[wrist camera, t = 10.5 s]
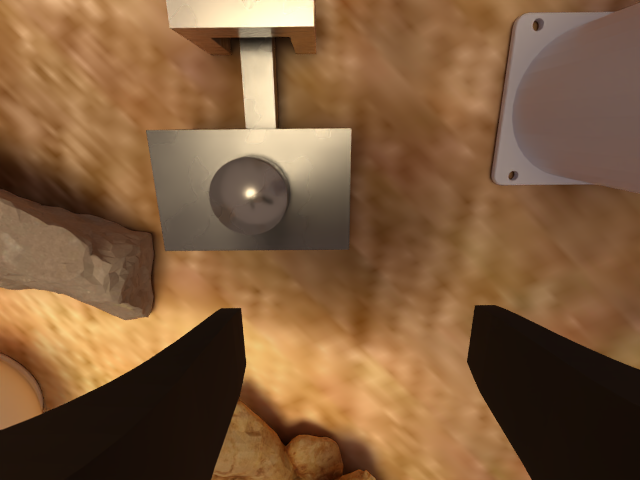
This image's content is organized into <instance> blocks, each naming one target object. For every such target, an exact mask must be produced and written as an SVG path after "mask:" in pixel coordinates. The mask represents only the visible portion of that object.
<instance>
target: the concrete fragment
mask: <svg viewBox="0 0 640 480" xmlns="http://www.w3.org/2000/svg"><path fill="white" fill-rule="evenodd" d="M153 258H154V251H153V243H152V234H150V233H147V232H142V231H132V230H129V229H127V228H125V227H123V226H121V225H119V224H117V223H115V222H112V221H108V220H105V219H103V218H100V217H97V216H93V215H89V214H75V213H73V212H70V211H68V210H66V209H64V208H62V207H51V206H44V205H43V206H42V205H40V204H39V203H37V202H33V201H30V200H28V199H25V198H22V197H18V196H17V195H15V194H13V193H10V192H8V191H6V190H4V189H0V287H2V288H5V289H11V290H22V289H38V290H46V291H51V292H56V293H58V294H65V295H68V296H70V297H72V298H74V299H77V300H79V301H81V302H84V303H86V304H89V305H92V306H94V307H96V308H99V309H101V310H103V311H105V312H107V313H109V314H111V315H114V316H117V317H119V318H121V319H124V320H131V319H137V318H141V317H148V316H149V314H150V313H151V310H152V303H153V297H154V295H153V292H152V287H151V270H152V264H153Z"/></svg>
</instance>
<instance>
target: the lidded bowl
mask: <svg viewBox="0 0 640 480" xmlns="http://www.w3.org/2000/svg"><path fill="white" fill-rule="evenodd" d="M43 405H44V402H43V395H42V391H41V389H40V386H39V384H38V383H37V381H36V380H35V378H34V377H33V376H32V374H31V373H30V372H29V371H28V370H27V369H26V368H25V367H23V366H22V365H21V364H20V363H18V362H17V361H15V360H14V359H12V358H10V357H8V356H6V355H4V354H1V353H0V430H2V429H5V428H7V427H10V426H13V425H15V424H18V423H20V422H23V421H25V420H28V419H30V418H33V417H35V416H38V415H40V414H43V413H42V411H43Z"/></svg>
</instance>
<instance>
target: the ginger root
mask: <svg viewBox="0 0 640 480" xmlns="http://www.w3.org/2000/svg"><path fill="white" fill-rule="evenodd" d="M342 473H343V462H342V459H341V454H340V450H339V447H338V444H337V443H336V442H335V441H334V440H332V439H330V438H328V437H316V436H311V435H297V436H296V437H295V438H294V439H292V440H291V441H290V442H289V443H288V445H286V446H285V445H284V444H283V443H282V442H281V440H280V438H279V436H278V435H277V433H276V432H275V431H274V430H273V429H271V428H270V427H269V426H268V425H267V424H266V423H265V422H264V421H263V420H262V419H261V418H260V417H259V416H258V415H256V414H255V413H254V412H253V411H251V410H250V409H249V408H248V407H247V406H246V405H245V404H244V403H243V402H241V401H240V400H238V402H237V405H236V408H235V411H234V414H233V417H232V420H231V423H230V425H229V428H228V431H227V434H226V437H225V440H224V443H223V446H222V448H221V451H220V454H219V457H218V460H217V463H216V466H215V469H214V472H213V475H212V479H211V480H376V478H375V477H373V476H372V475H371V474H370V473H369V472H368V471H367V470H365V471H362V470H360V469H359V470H356V471H354V472H352V473H349V474H346V475H343V476H342Z"/></svg>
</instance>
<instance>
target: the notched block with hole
mask: <svg viewBox="0 0 640 480" xmlns="http://www.w3.org/2000/svg"><path fill="white" fill-rule="evenodd" d="M166 4H167V11H168V19H169V27H170V29H172V30H174V31H175V32H177V33H178V34H180V35H181V36H183V37H184V38H186V39H187V40H189V41H191V42H192V43H194V44H195V45H197V46H198V47H200V48H201V49H203V50H204V51H206V52H208V53H209V54H211V55H232V54H231V42H230V38H232V37H290V39H291V42H292V44H293V47H294V50H295V53H296V54H316V5H315V0H166Z"/></svg>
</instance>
